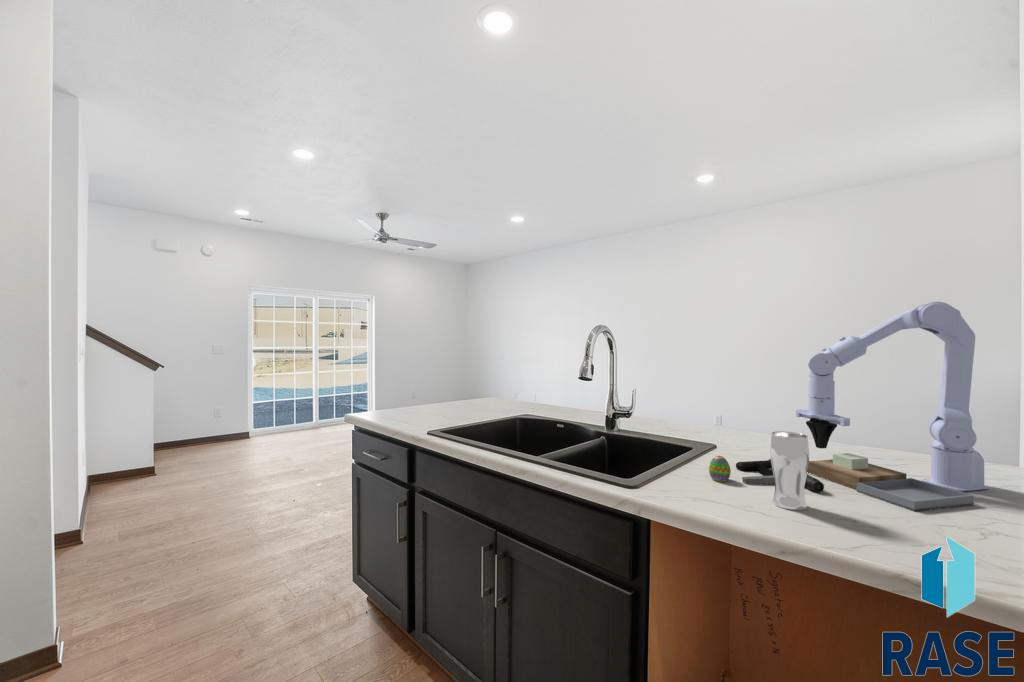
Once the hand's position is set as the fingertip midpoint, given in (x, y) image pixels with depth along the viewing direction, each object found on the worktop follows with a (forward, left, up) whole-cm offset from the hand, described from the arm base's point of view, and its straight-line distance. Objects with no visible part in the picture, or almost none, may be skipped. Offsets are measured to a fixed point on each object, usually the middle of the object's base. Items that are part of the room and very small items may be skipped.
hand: (821, 447), depth 118 cm
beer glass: (+30, +20, -6) cm, 37 cm away
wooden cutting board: (0, +9, -6) cm, 11 cm away
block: (0, +8, -3) cm, 9 cm away
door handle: (+20, +4, -6) cm, 22 cm away
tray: (0, +22, -6) cm, 23 cm away
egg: (+33, +2, -6) cm, 34 cm away
